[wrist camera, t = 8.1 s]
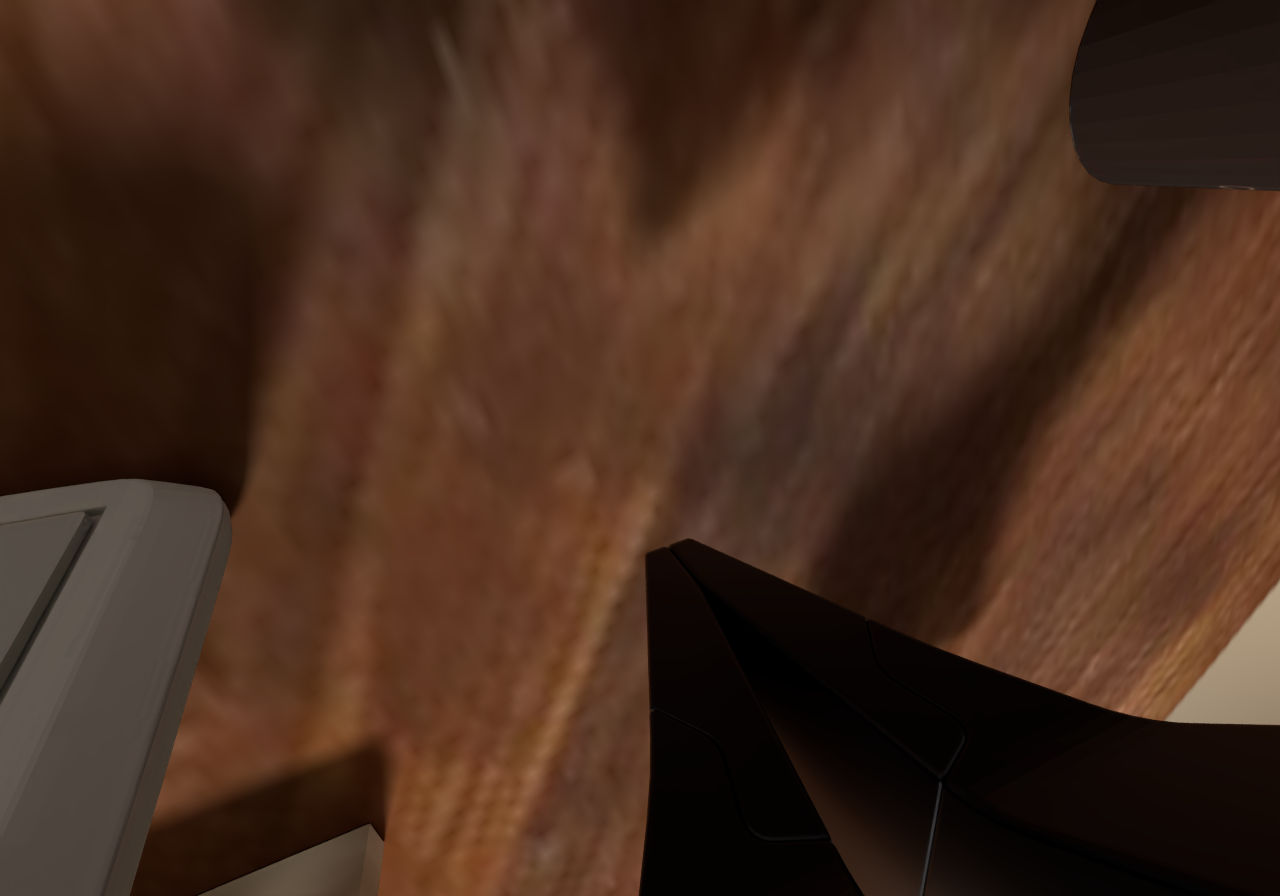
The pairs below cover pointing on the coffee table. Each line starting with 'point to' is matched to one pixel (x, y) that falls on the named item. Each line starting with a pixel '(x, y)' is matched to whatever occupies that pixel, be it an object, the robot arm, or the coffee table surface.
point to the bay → (318, 870)
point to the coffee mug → (1180, 94)
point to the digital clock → (96, 670)
